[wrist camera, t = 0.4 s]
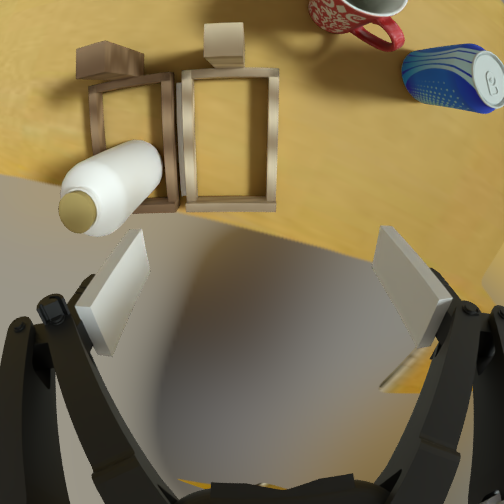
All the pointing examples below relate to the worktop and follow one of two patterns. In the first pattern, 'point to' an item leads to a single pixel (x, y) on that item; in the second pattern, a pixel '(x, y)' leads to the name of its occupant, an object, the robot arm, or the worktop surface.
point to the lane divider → (180, 138)
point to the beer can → (455, 77)
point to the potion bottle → (109, 187)
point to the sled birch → (226, 66)
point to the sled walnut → (124, 76)
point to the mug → (360, 19)
